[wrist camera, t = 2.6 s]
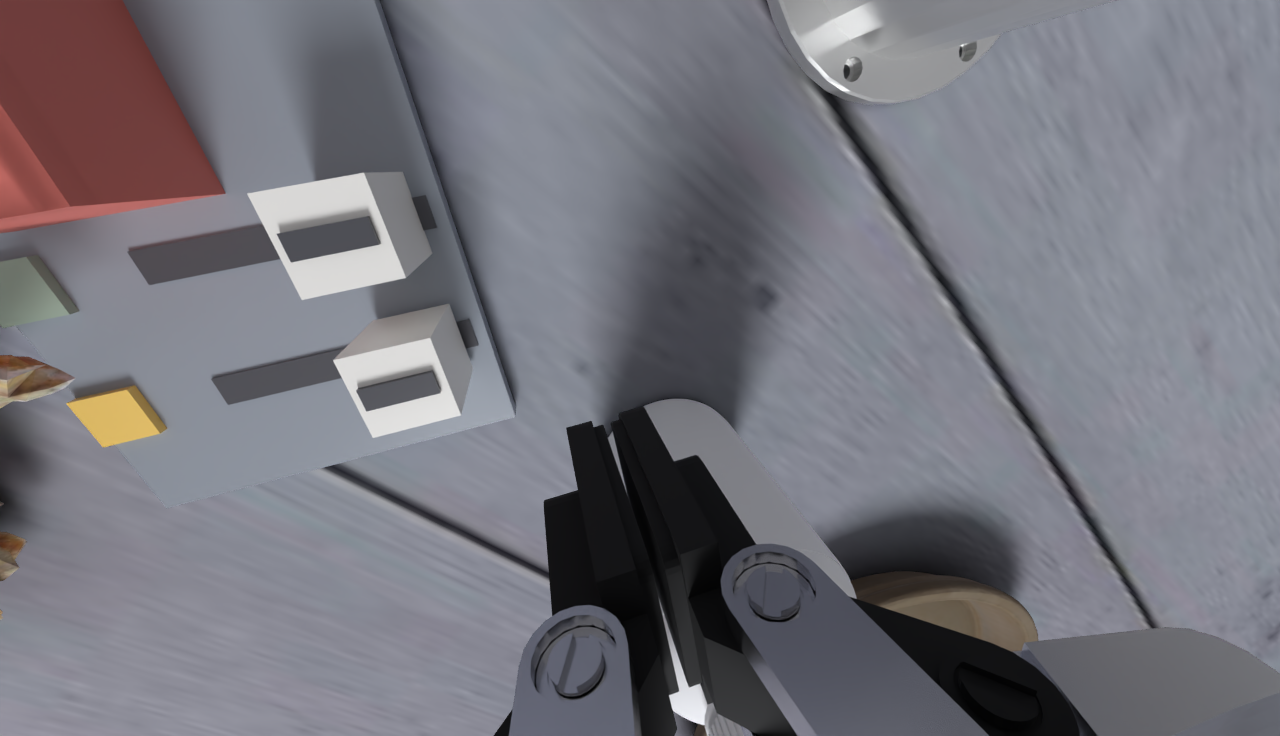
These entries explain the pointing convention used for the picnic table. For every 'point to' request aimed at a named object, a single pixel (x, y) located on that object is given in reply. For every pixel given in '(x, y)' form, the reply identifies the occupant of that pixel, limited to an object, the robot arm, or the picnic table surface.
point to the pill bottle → (754, 503)
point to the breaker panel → (256, 256)
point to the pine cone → (23, 382)
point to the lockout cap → (87, 118)
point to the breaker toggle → (407, 370)
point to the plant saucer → (948, 607)
